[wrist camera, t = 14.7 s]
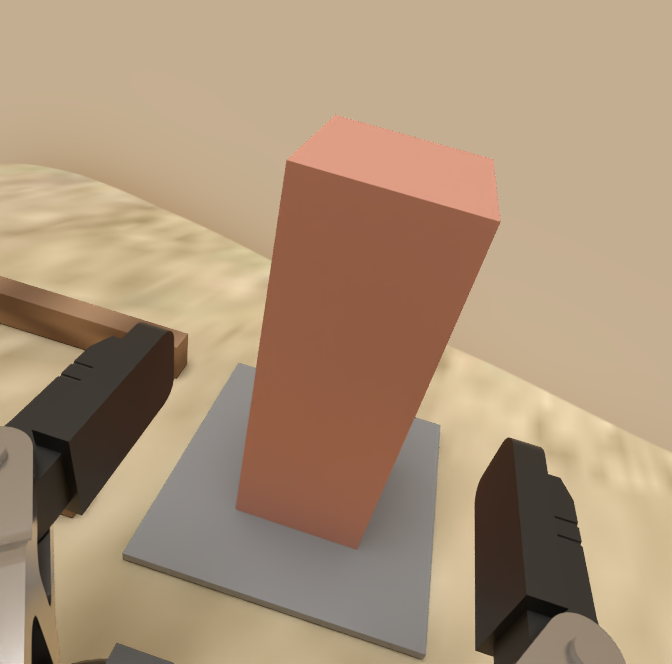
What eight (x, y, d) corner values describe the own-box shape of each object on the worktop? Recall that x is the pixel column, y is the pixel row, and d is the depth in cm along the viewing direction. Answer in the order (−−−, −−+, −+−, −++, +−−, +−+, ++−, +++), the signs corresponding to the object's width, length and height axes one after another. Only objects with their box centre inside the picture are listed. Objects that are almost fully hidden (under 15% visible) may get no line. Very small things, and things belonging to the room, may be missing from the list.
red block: (376, 453, 23) (493, 159, 15) (356, 549, 19) (500, 221, 11) (275, 420, 24) (335, 114, 15) (235, 509, 20) (286, 160, 11)
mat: (437, 430, 26) (440, 425, 26) (421, 659, 17) (425, 654, 17) (237, 368, 27) (238, 362, 26) (123, 559, 18) (122, 553, 17)
